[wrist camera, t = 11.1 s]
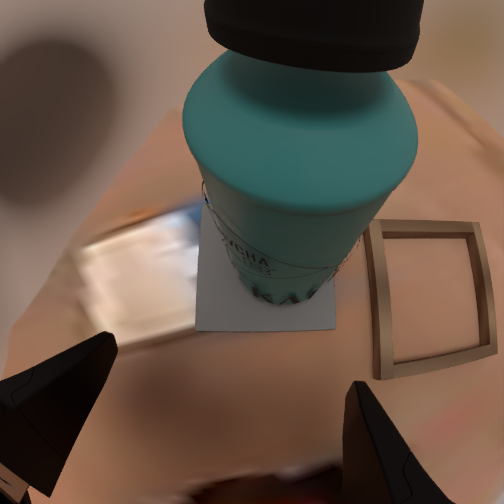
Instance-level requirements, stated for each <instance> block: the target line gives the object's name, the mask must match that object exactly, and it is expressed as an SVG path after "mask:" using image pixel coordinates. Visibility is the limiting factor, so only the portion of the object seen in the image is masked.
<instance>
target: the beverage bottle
mask: <svg viewBox="0 0 504 504" xmlns="http://www.w3.org/2000/svg"><path fill="white" fill-rule="evenodd" d="M423 3H424V0H205V2H204V12H205V17H206V22H207V28H208V32H209V34H210V36H211V37H212V38H213V39H214V40H215V41H216V42H217V43H219V44H220V45H222V46H224V47H225V48H227V49H228V50H227V51H226V52H224V53H223V54H222V55H221V56H219V57H218V58H217V59H216V60H215V61H214V62H213V63H211V64H210V65H209V66H208V67H207V69H205V70H204V71H203V72H202V73H201V75H200V76H199V77H198V78H197V80H196V81H195V82H194V84H193V85H192V87H191V89H190V91H189V92H188V95H187V97H186V100H185V103H184V108H183V115H182V121H183V131H184V135H185V139H186V142H187V144H188V146H189V149H190V151H191V153H192V155H193V156H194V158H195V159H196V161H197V163H198V166H199V169H200V172H201V175H202V178H203V183H205V186H206V190H207V194H208V197H209V199H210V202H211V204H212V207H213V210H214V211H213V210H212V209H211V211H213V212H214V213H215V215H216V217H217V220H218V222H219V225H220V228H221V229H220V228H219V227H217V228H219V229H218V230H219V231H220V230H222V232H221V231H220V233H223V236H224V239H225V240H226V243H227V244H226V245H225V246H226V247H228V249H229V251H230V253H231V256H232V258H233V261H234V263H235V264H234V263H233V261H232V262H231V263H233V265H234V267H235V266H236V268H237V272H238V273H239V276H240V277H239V278H238V279H240V278H241V279H240V280H241V281H242V283H244V284H243V285H245V286H246V288H247V289H248V290H249V291H250V292H251V293H252V296H253V295H254V296H255V297H257V298H259V299H261V300H263V301H265V302H268V303H271V304H272V305H273V304H276V305H277V306H276V307H278V305H279V306H280V305H291V304H297V303H300V302H301V301H304V300H306V299H307V300H308V299H310V298H311V297H312V296H313V295H314V294H315V293H316V291H317V290H318V289H319V288H321V286H322V285H323V284H324V282H325V281H326V280H327V279H328V278H329V276H331V274H332V273H333V272H334V271H336V270H337V269H336V268H338V266H339V265H340V263H341V262H343V260H344V258H345V257H346V256H347V255H348V253H349V252H350V251H351V249H352V248H353V246H354V245H355V243H356V241H357V240H358V239H359V237H360V236H361V235H362V233H363V232H364V231H365V229H366V228H367V226H368V225H369V224H370V222H371V221H372V219H373V218H374V217H375V215H376V214H377V212H378V211H379V210H380V208H381V207H382V205H383V204H384V202H385V201H386V199H387V198H388V197H389V195H390V194H391V192H392V191H393V190H395V189H396V188H397V186H398V185H399V184H400V183H401V182H402V181H403V179H404V178H405V177H406V175H407V173H408V172H409V170H410V168H411V167H412V165H413V163H414V160H415V157H416V154H417V148H418V131H417V125H416V121H415V117H414V115H413V112H412V110H411V108H410V106H409V104H408V102H407V100H406V98H405V96H404V95H403V93H402V92H401V90H400V89H399V87H398V86H397V85H396V83H395V82H394V80H393V79H392V78H391V76H390V75H389V74H388V73H387V72H386V71H388V70H393V69H397V68H399V67H402V66H404V65H405V64H407V63H408V62H409V61H410V60H411V59H412V56H413V54H414V51H415V48H416V45H417V42H418V39H419V35H420V26H419V25H420V24H419V23H420V19H421V13H422V8H423ZM203 183H202V190H203ZM202 194H203V192H202ZM204 195H205V193H204ZM205 197H206V196H205ZM203 198H204V197H203ZM205 200H206V202H208V201H207V198H205ZM206 204H207V203H206ZM208 205H209V204H208ZM207 207H209V208H210V205H209V206H207ZM209 208H208V209H209ZM209 211H210V209H209ZM210 214H211V213H210ZM213 216H214V215H213ZM213 216H211V217H213ZM214 217H215V216H214ZM212 219H213V218H212ZM213 221H214V223H215V226H217V225H216V221H215V220H213ZM221 235H222V234H221ZM224 239H222V240H223V241H224ZM359 242H360V239H359ZM225 246H224V247H225ZM357 247H358V246H357ZM228 249H227V253H228ZM351 253H352V252H351ZM350 255H351V254H350ZM228 256H229V253H228ZM231 256H229V258H230V257H231ZM349 257H350V256H349ZM346 258H347V257H346ZM230 260H231V259H230ZM345 260H346V259H345ZM347 260H348V259H347ZM344 262H345V261H344ZM341 264H342V263H341ZM233 265H232V266H233ZM342 266H343V265H342ZM339 268H340V267H339ZM335 269H336V270H335ZM338 270H339V269H338ZM338 270H337V272H338ZM235 273H236V272H235ZM335 274H336V273H335ZM335 274H334V275H335ZM236 275H237V274H236ZM332 275H333V274H332ZM334 275H333V276H334ZM333 276H331V278H332V277H333ZM331 278H330V280H331ZM328 280H329V279H328ZM330 280H329V281H330ZM329 281H327V283H328V282H329ZM240 283H241V282H240ZM325 283H326V282H325ZM243 288H244V287H243ZM321 290H322V289H321ZM321 290H320V291H321ZM320 291H319V292H320ZM317 294H318V293H317ZM254 296H253V297H254ZM314 296H316V295H314ZM311 299H312V298H311ZM261 300H260V302H261ZM258 301H259V300H258ZM263 301H262V303H263ZM306 302H307V301H306ZM302 303H303V302H302ZM267 305H268V304H267ZM272 305H271V306H272ZM290 307H291V306H290Z"/></svg>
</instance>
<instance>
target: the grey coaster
mask: <svg viewBox="0 0 504 504" xmlns="http://www.w3.org/2000/svg"><path fill="white" fill-rule="evenodd" d="M209 205H210V208H209V207H207V206H209ZM209 205H208V204H202V214H201V227H200V240H199V256H198V273H197V294H196V320H195V331H213V332H286V331H314V330H333V329H336V310H335V292H334V277H332V278H331V276H333V275H332V274H333V273H332V274H331V276H329V278H328V279H329V280H330V278H331V280H330V281H329V280H328V279H327V280H326V281H325V282H326V283H325V282H324V284H323V285H322V286H321V288H319V289H318V290H317V291H316V293H315V294H314V295H316V296H314V295H313V296H312V297H311V298H312V299H311V298H310V299H308V300H307V299H306V300H304V301H301V302H300V303H297V304H291V305H280V306H279V305H278V307H276V306H277V305H276V304H273V305H272V304H271V303H268V302H265V301H263V300H261V299H259V298H257V297H255V296H254V295H253V296H254V297H253V296H252V293H251V292H250V291H249V290H248V289H247V288H246V286H245V285H243V284H244V283H242V281H241V280H240V279H241V278H240V279H238V278H239V277H240V276H239V273H238V272H237V268H236V266H235V267H234V265H233V263H234V261H233V258H232V256H231V253H230V251H229V249H228V247H226V246H225V245H226V244H227V243H226V240H225V239H224V236H223V233H220V231H221V232H222V230H220V231H219V230H218V229H219V228H220V225H219V222H218V220H217V217H216V215H215V213H214V212H213V211H214V210H213V207H212V204H209ZM208 208H209V209H210V211H209V209H208ZM211 209H212V210H213V211H211ZM210 213H211V214H210ZM213 215H214V216H215V217H214V216H213ZM211 216H213V217H211ZM212 218H213V219H212ZM213 220H215V221H216V225H217V226H215V223H214V221H213ZM217 227H219V228H217ZM220 229H221V228H220ZM221 234H222V235H221ZM222 239H224V241H223V240H222ZM224 246H225V247H224ZM227 249H228V253H229V256H231V257H230V258H229V256H228V253H227ZM230 259H231V260H230ZM232 261H233V263H231V262H232ZM234 264H235V263H234ZM232 265H233V266H232ZM235 272H236V273H235ZM236 274H237V275H236ZM327 281H329V282H328V283H327ZM240 282H241V283H240ZM243 287H244V288H243ZM321 289H322V290H321ZM320 290H321V291H320ZM319 291H320V292H319ZM317 293H318V294H317ZM258 300H259V301H258ZM260 300H261V302H260ZM262 301H263V303H262ZM306 301H307V302H306ZM302 302H303V303H302ZM267 304H268V305H267ZM271 305H272V306H271ZM290 306H291V307H290Z"/></svg>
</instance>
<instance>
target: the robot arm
mask: <svg viewBox="0 0 504 504" xmlns="http://www.w3.org/2000/svg"><path fill="white" fill-rule="evenodd" d="M117 353H118V347H117V344H116V340H115V337H114V335H113V334H112V333H109V332H106V331H103V332H101V333H99V334H97V335H95V336H93V337H91V338H89V339H87V340H85V341H83V342H81V343H79V344H77V345H75V346H73V347H71V348H69V349H67V350H65V351H63V352H61V353H59V354H57V355H55V356H53V357H51V358H49V359H47V360H45V361H43V362H41V363H39V364H37V365H36V366H33V367H31V368H29V369H27V370H25V371H23V372H21V373H19V374H16V375H14V376H12V377H9V378H7V379H4V380H1V381H0V504H31V500H30V497H29V493H28V491H27V489H28V488H29V486H32V487H33V488H35V489H36V490H38V491H39V492H41V493H42V494H44V495H46V496H47V497H49V498H50V496H51V494H52V492H53V490H54V487H55V485H56V483H57V481H58V478H59V476H60V474H61V472H62V469H63V467H64V465H65V463H66V460H67V458H68V456H69V454H70V452H71V450H72V447H73V445H74V443H75V441H76V439H77V437H78V435H79V433H80V431H81V429H82V427H83V425H84V423H85V421H86V419H87V417H88V415H89V413H90V411H91V409H92V407H93V405H94V403H95V402H96V400H97V398H98V396H99V394H100V392H101V390H102V388H103V386H104V384H105V382H106V380H107V378H108V375H109V373H110V370H111V368H112V365H113V363H114V361H115V358H116V356H117ZM342 442H343V503H342V504H455V503H454V502H452V501H451V500H450V499H448V498H447V496H446V495H445V494H444V493H443V492H442V491H441V489H440V488H439V487H438V486H437V485H436V484H435V482H434V481H433V480H432V479H431V478H430V476H429V475H428V474H427V473H426V471H425V470H424V469H423V467H422V466H421V465H420V463H419V462H418V460H417V459H416V457H415V456H414V454H413V453H412V451H410V448H409V447H408V445H407V444H406V442H405V441H404V439H403V437H402V436H401V434H400V433H399V431H398V430H397V428H396V427H395V425H394V424H393V422H392V421H391V419H390V418H389V416H388V415H387V413H386V412H385V410H384V409H383V407H382V406H381V404H380V403H379V401H378V400H377V398H376V397H375V395H374V394H373V392H372V391H371V390H370V388H369V387H368V385H367V384H366V382H364V381H354V382H353V383H352V385H351V387H350V389H349V390H348V392H347V395H346V398H345V411H344V423H343V438H342Z"/></svg>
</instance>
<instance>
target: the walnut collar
mask: <svg viewBox="0 0 504 504" xmlns="http://www.w3.org/2000/svg"><path fill="white" fill-rule="evenodd" d="M363 233H364V241H365V248H366V256H367V265H368V274H369V284H370V296H371V309H372V325H373V352H374V379H376V380H388V379H394V378H400V377H406V376H411V375H417V374H422V373H427V372H431V371H436V370H440V369H444V368H449V367H453V366H457V365H461V364H464V363H468V362H472V361H475V360H479V359H482V358H485V357H488V356H492V355H495V354H498V349H497V327H496V314H495V304H494V296H493V288H492V282H491V275H490V269H489V264H488V259H487V254H486V249H485V245H484V240H483V236H482V232H481V228H480V224H479V222H460V221H431V220H384V219H372V221H371V222H370V224H369V225H368V226H367V228H366V229H365V231H364V232H363ZM383 238H466V240H467V244H468V249H469V254H470V259H471V265H472V270H473V276H474V283H475V290H476V298H477V307H478V317H479V331H480V346H477V347H473V348H469V349H465V350H461V351H456V352H452V353H447V354H443V355H438V356H433V357H428V358H422V359H417V360H411V361H405V362H399V363H393V332H392V315H391V302H390V291H389V282H388V273H387V265H386V257H385V250H384V243H383Z"/></svg>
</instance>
